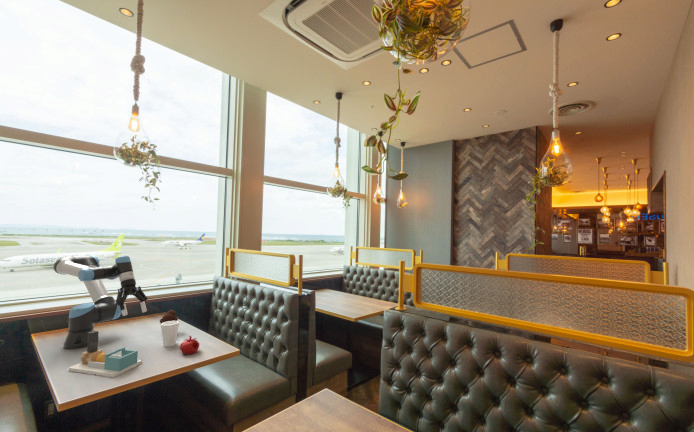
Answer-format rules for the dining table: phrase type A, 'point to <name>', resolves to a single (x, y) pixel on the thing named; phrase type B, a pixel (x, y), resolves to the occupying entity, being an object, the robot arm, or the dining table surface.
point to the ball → (101, 358)
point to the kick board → (99, 368)
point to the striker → (91, 348)
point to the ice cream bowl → (169, 317)
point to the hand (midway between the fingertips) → (135, 313)
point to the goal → (120, 359)
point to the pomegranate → (189, 346)
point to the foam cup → (169, 332)
